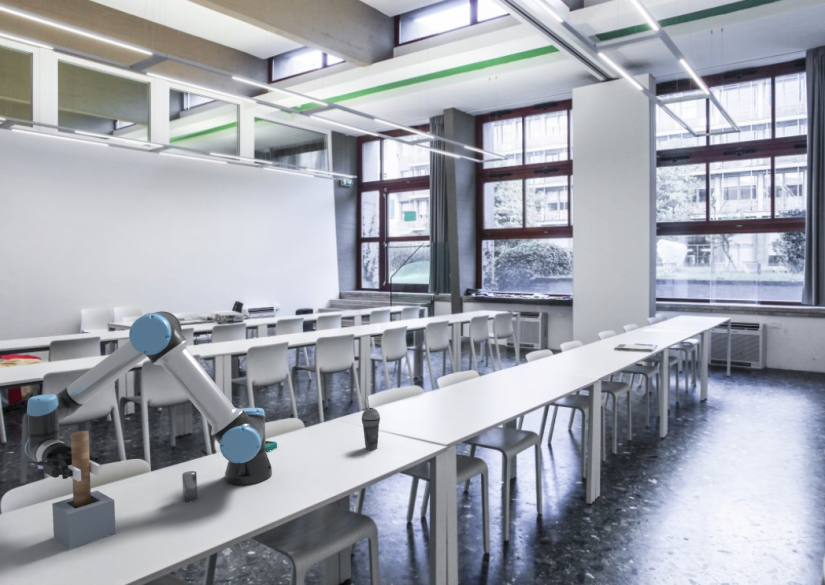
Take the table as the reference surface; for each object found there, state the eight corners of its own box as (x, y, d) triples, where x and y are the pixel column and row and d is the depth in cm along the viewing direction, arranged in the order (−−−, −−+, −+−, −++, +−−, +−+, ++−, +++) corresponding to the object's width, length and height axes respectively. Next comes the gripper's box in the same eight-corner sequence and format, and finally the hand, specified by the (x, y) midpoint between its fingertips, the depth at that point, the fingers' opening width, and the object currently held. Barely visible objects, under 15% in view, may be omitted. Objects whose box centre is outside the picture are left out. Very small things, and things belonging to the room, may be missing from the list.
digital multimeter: (247, 444, 227) (247, 437, 227) (278, 448, 221) (277, 441, 221) (235, 450, 220) (235, 442, 220) (266, 454, 214) (266, 446, 214)
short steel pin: (193, 495, 174) (192, 470, 173) (199, 498, 171) (198, 472, 171) (180, 499, 170) (179, 473, 170) (187, 503, 168) (186, 476, 168)
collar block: (98, 522, 156) (97, 490, 156) (115, 533, 149) (114, 499, 148) (53, 537, 147) (52, 503, 147) (69, 549, 140) (68, 514, 140)
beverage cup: (378, 451, 213) (377, 398, 213) (360, 450, 214) (358, 398, 214) (382, 445, 220) (381, 394, 220) (364, 444, 222) (363, 394, 221)
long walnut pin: (87, 511, 151) (85, 429, 150) (94, 515, 148) (91, 432, 147) (71, 516, 148) (68, 433, 147) (77, 520, 145) (74, 435, 144)
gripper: (89, 460, 166) (124, 478, 151) (21, 477, 153) (52, 498, 138) (88, 435, 165) (123, 450, 150) (20, 449, 152) (51, 467, 137)
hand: (89, 473), depth 144 cm, fingers closed on long walnut pin, 4 cm apart
